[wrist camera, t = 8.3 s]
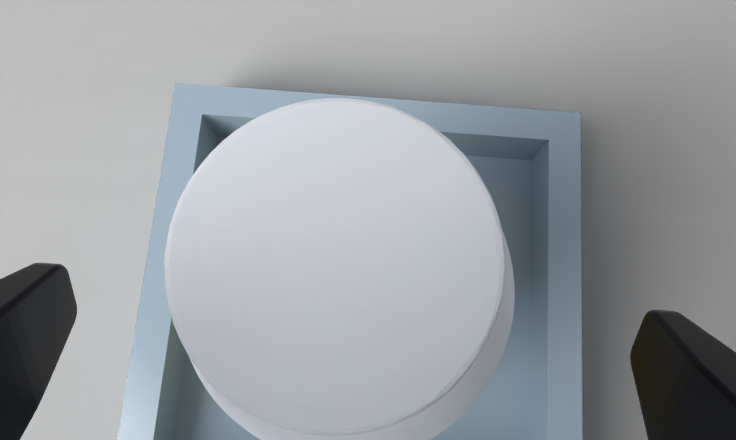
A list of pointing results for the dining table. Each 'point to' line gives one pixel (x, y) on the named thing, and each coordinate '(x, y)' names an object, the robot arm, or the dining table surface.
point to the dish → (519, 225)
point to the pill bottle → (340, 275)
